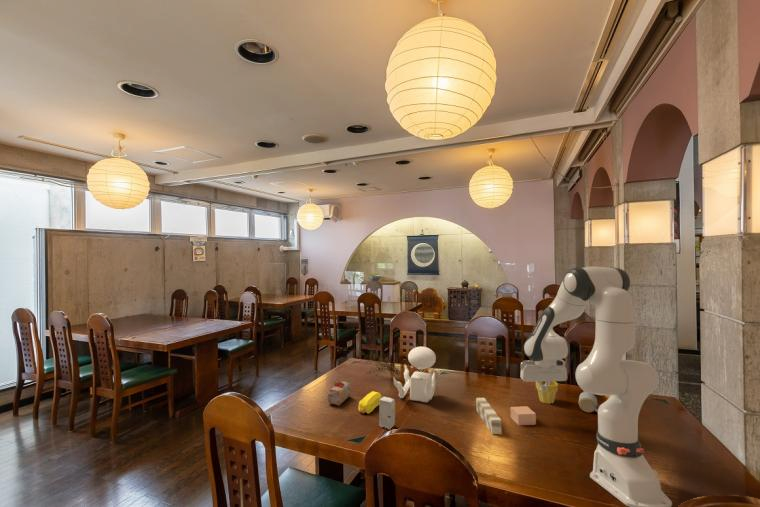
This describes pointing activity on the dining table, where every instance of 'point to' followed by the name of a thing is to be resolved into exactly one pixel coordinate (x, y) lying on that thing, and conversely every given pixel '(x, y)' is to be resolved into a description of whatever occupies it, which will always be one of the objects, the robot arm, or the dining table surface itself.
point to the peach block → (523, 415)
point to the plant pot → (547, 392)
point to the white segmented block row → (488, 416)
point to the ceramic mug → (588, 402)
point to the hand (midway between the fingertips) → (543, 390)
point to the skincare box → (386, 412)
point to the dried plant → (377, 361)
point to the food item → (339, 393)
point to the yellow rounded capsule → (369, 402)
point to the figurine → (418, 376)
